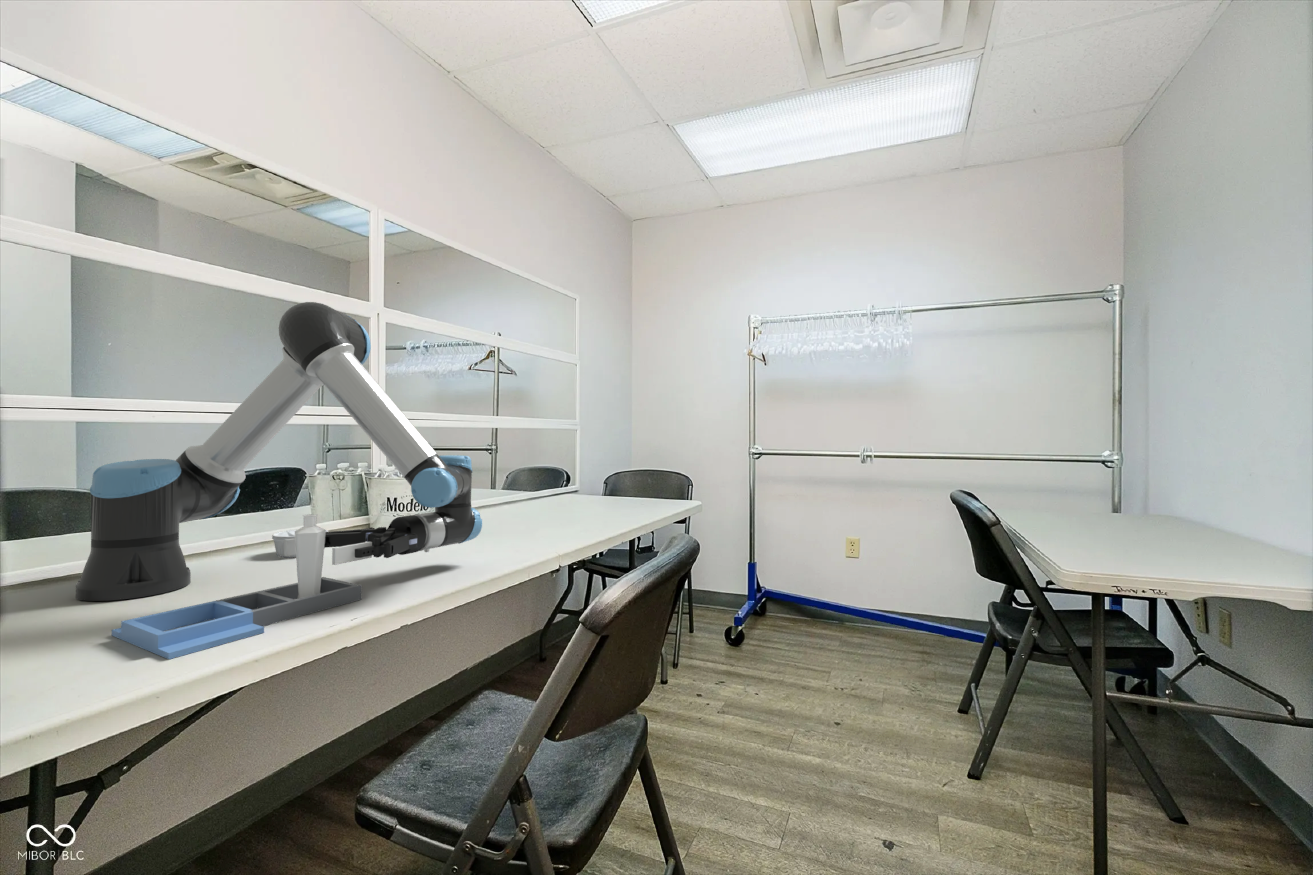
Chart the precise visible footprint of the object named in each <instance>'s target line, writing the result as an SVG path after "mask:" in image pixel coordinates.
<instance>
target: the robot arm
mask: <svg viewBox="0 0 1313 875" xmlns="http://www.w3.org/2000/svg"><path fill="white" fill-rule="evenodd" d="M278 336H279V339H280V341H281V344H282V345H283V347H282V349H281V350H282V355H283V359H282V361H280V362H279V363H278V364H277V366H276V367H275V368H274V369H273V370H272V371H271V372H270V373H269V374H268V375H267V376H266V377H265V379H263V380H262V381H261V383H260V384H258V386H256V388H255V389H254V390H252V392H250V394H249V395H248V396H247V398H245V400H244V401H243V402H241V404H240V405H238V406H237V407H236V409H235V410H234V411H233V412H232V413H231V414H230V415H229V416H228V417H227V418H226V419H225V421H224V422H222V423H221V425H220V426H219V427H218V428H217V429H216V430H215V431H214V432H213V433H212V434H211V435H210V436H209V437H208V439H206V440H205V442H203V444H200V445H190V446H188V447H187V448H186V449H185V450H184V451H183V452H182V453H181V454H180V455H179V456H178V457H177V458H176V459H169V458H168V459H167V458H149V459H147V458H146V459H143V458H142V459H135V460H134V459H133V460H124V461H115V462H111V463H107V464H104V465H103V464H102V465H101V466H99V467H97V468H96V469H95V470H94V471H93V474H92V478H91V479H92V480H91V486H90V488H89V492H90V501H91V502H90V505H91V506H90V509H91V510H90V511H91V512H90V553H89V555H88V557H87V559H86V563H85V565H84V568H83V571H82V574H81V576H80V579H78V581H77V582H76V584H75V599H77V600H79V601H80V600H81V601H86V602H87V601H88V602H105V601H107V602H108V601H121V600H128V599H137V598H138V599H139V598H143V597H150V596H154V595H155V596H156V595H160V594H164V593H169V592H172V591H175V590H176V591H177V590H179V589H182V588H184V587H187V586H188V585H190V584H191V577H192V574H191V570H190V567H188V566H187V563H186V558H185V556H184V553H183V551H182V548H181V545H180V524H182V523H188V522H192V521H193V522H194V521H197V520H204V519H205V520H206V519H208V518H209V519H210V518H211V517H215V516H217V515H219V514H221V513H223V512H225V511H227V510H228V509H229V508H230V507H232V505H233V504H234V503H236V501H237V499H238V497H239V494H240V491H241V489H240V485H241V484H243V483H244V481H246V480H245V479H247V478H246V473H245V472H246V471H245V469H246V467H247V466H248V465H249V464H250V463H251V462H252V461H253V460H255V458H256V457H257V456H258V455H259V453H260V452H261V451H262V450H264V448H265V447H266V446H267V445H268V444H269V443H270V442H271V440H272V439H274V437H275V436H276V435H277V434H278V433H280V431H281V430H282V429H283V428H284V427H285V426H286V424H288V423H289V422H290V421H291V419H293V417H294V416H295V415H296V414H297V413H298V412H299V411H300V410H301V408H302V407H304V405H305V404H307V402H308V401H309V400H310V399H311V398H312V397H313V396H314V395H315V393H316V392H317V391H319V390H320V388H321V387H322V386H325V388H326V389H327V390H328V391H329V392H330V393H331V394H332V396H333V397H334V398H335V399H336V400H337V402H339V404H340V405H341V406H342V407H343V409H344V410H345V411H346V412H347V413H348V414H349V416H351V418H352V419H354V421H355V422H356V423H357V425H358V426H359V427H360V428H361V429H362V430H363V432H364V433H365V434H366V435H367V437H369V438H370V440H371V441H372V442H373V443H374V445H376V447H377V448H378V449H379V450H380V451H381V452H382V454H383V455H384V456H385V458H387V460H388V461H389V462H390V463H391V464H392V465H393V466H394V467H395V469H396V470H397V471H398V472H399V474H400V475H401V476H402V477H403V478H404V479H405V480H406V482H407V483H408V485H410V491H411V494H412V497H413V499H414V500H415V502H417V504H418V505H420V506H423V507H425V508H431V509H432V508H434V512H433V511H432V512H431V511H429V512H423V513H417V514H409V515H405V516H404V515H403V516H398V517H396V518H394V519H392V520H391V522H390V523H389V525H388V527H386V526H383V527H382V526H381V527H380V526H378V527H376V528H375V527H368V528H367V527H366V528H361V529H358V528H357V529H348V530H347V529H346V530H335V531H333V530H331V531H328V532H326V534H325V545H324V548H332V551H331V552H332V553H331V554H332V555H331V557H332V558H331V565H333V566H338V565H342V564H346V563H347V564H348V563H352V562H357V561H362V560H367V559H371V558H372V557H374V558H380V557H382V556H383V558H386V559H389V558H392V557H394V556H396V555H398V556H399V555H400V556H404V555H409V554H414V553H418V552H422V551H424V552H425V553H429V552H430V549H435V548H440V547H445V546H451V545H456V544H459V545H460V544H463V543H465V542H469V541H472V540H474V539H475V538H478V536H479V535H480V534H481V533H482V532H481V531H482V528H483V519H482V518H481V514H480V512H479V510H477V509H476V508H475V507H472V479H473V478H472V476H473V474H472V473H473V468H472V458H471V457H470V456H469V455H464V454H463V455H459V454H457V455H455V454H453V455H452V454H448V455H447V454H446V455H444V454H443V455H438V453H437V451H435V449H434V448H433V447H432V446H431V444H429V442H428V441H427V440H426V438H424V436H423V435H422V434H421V433H420V431H419V430H418V429H417V428H416V427H415V426H414V425H413V423H412V422H411V421H410V420H409V419H408V417H406V415H405V414H404V413H403V411H402V410H401V409H400V408H399V407H398V405H397V404H396V403H395V402H394V400H392V399H391V397H390V396H389V395H388V394H387V392H386V391H385V390H384V389H383V388H382V386H380V385H379V383H378V382H377V381H376V379H375V378H374V377H373V376H372V374H370V372H369V371H368V370H367V369H366V368H365V367H364V365H363V364H365V363H366V362H367V360H368V359H369V356H370V353H371V350H372V349H371V348H372V345H371V339H370V335H369V332H368V331H367V330H366V329H365V327H364V326H363V325H362V323H361V324H360V323H359V322H358V320H356V319H354V318H352V316H350V315H347V314H345V313H342V311H341V312H340V311H339V310H336V309H335V308H333V307H331V306H329V305H327V304H324V303H321V302H317V301H305V302H300V303H297V304H294V305H292V306H290V307H289V308H288V309H287V310H286V311H285V312H284V313H283V315H282V316H281V318H280V320H279V324H278ZM294 554H296V545H295V538H294V539H287V540H284V555H285V556H288V555H294Z"/></svg>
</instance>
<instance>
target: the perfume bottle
mask: <svg viewBox="0 0 1313 875" xmlns="http://www.w3.org/2000/svg"><path fill="white" fill-rule="evenodd" d="M302 517H303V526H302V527H300V528H298V530H297V529H295V530H296V531H295V545H296V558H295V559H296V572H297V573H296V576H297V583H298V594H299V595H298V598H297V599H300V598H304V597H308V596H312V595H317V594H321V593H320V586H321V577H323V576H322V575H323V563H324V553H325V549H324V545H325V534H326V530H327V529H326V528H323V527H320V526H318V525H317V517H318V514H314V513H311V514H310V513H308V514H302Z"/></svg>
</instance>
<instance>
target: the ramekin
mask: <svg viewBox="0 0 1313 875" xmlns="http://www.w3.org/2000/svg"><path fill="white" fill-rule="evenodd" d="M298 529H299V528H298ZM298 529H289V530H284V531H280V532H278V531H277V532H275V533H273V534H272V536H271V537H272V538H271V539H272V540H273V543H274V544H273V545H274V548H275V553H276V555H277V556H278V557H279V558H285V559H287V558H289V559H292V558H293V557H294V558H293V559H296V558H295V557H296V554H294V555H288V556H285V555H284V540H287V539H294V538H295V531H296V530H298ZM325 530H326V532H329V530H328V529H325ZM324 550H325V548H324Z"/></svg>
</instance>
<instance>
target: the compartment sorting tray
mask: <svg viewBox="0 0 1313 875" xmlns="http://www.w3.org/2000/svg"><path fill="white" fill-rule="evenodd" d="M362 590H363V589H362V584H358V583H353V582H348V581H343V580H340V579H336V578H335V579H334V578H330V577H325V576H321V586H320V594H317V595H312V596H308V597H304V598H300V599H297V598H298V595H299V594H298V582H294V583H290V584H285V585H281V586H276V587H272V588H267V589H262V590H257V591H253V592H249V593H244V594H239V595H236V596H231V597H226V598H222V599H217V600H216V599H215V600H212V601H207V602H204V603H203V602H202V603H199V604H194V605H190V606H186V607H181V608H176V609H175V608H174V609H171V610H167V611H163V612H158V613H153V614H149V615H144V616H139V617H134V618H130V619H125V620H121V622H120V627H118V628H113V629H111V636H112V637H115V638H118V639H119V640H121V641H124V642H125V643H129V644H131V645H133V646H136V647H138V648H141V649H142V650H145V651H148V652H150V653H153V654H155V655H158V656H160V657H162V658H164V659H166V660H172V659H175V657H176V658H179V657H183V656H186V655H190V654H194V653H196V652H200V651H204V650H207V649H211V648H214V647H217V646H221V645H225V644H229V643H231V642H236V641H239V640H243V639H245V638H250V637H253V636H256V635H260V634H264V633H265V627H266V626H269V625H272V624H277V623H279V622H283V621H287V620H291V619H295V618H299V617H302V616H305V615H308V614H313V613H316V612H320V610H321V611H325V610H328V609H332V608H335V607H338V606H342V605H346V604H350V603H353V602H356V601H361V600H362V596H363V595H362V592H363V591H362ZM276 622H277V623H276ZM228 642H229V643H228Z"/></svg>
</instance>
